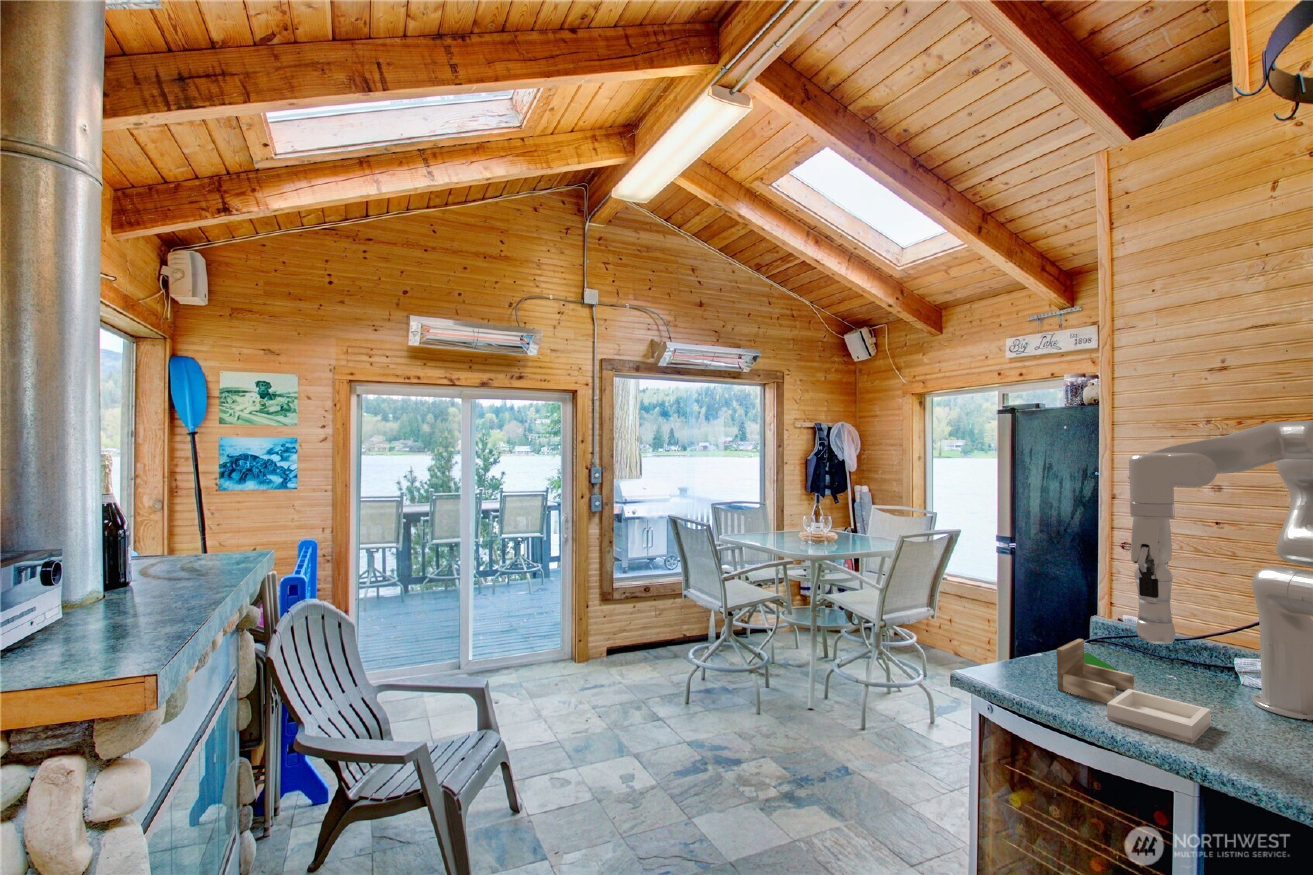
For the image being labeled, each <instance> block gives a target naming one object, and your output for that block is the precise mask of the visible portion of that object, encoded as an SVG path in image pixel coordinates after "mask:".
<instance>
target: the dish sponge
mask: <svg viewBox="0 0 1313 875" xmlns="http://www.w3.org/2000/svg"><path fill="white" fill-rule="evenodd" d="M1084 663H1085V664H1089V665H1094V666H1098V667H1102V668H1107V669H1111V670H1115V671H1119V669H1117V668H1116V667H1114V666H1112V665H1111V664H1108V663H1107V662H1105V661H1103V660H1102V659H1100V658H1098V657H1097V656H1094V655H1093V654H1092V653H1089V652H1084Z"/></svg>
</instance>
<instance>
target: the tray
mask: <svg viewBox="0 0 1313 875" xmlns="http://www.w3.org/2000/svg"><path fill="white" fill-rule="evenodd" d="M1106 708H1107V710H1106V713H1107V714H1106V716H1107V719H1106V720H1108V721H1112V722H1115V723H1118V724H1123V725H1125V726H1127V727H1128V726H1129V727H1133V728H1136V729H1139V730H1143V731H1146V732H1150V733H1153V734H1157V735H1161V736H1163V737H1167V738H1170V739H1175V740H1176V741H1177V740H1178V741H1182V742H1184V743H1188V744H1192V745H1193V744H1194V743H1195V742H1197V741H1198V739H1199V738H1200V737H1201V736H1202V735H1203V734H1204V733H1205V732H1206V731H1207V730H1209V728H1210V727H1211V725H1212V722H1211V721H1212V720H1211V708H1208V707H1204V706H1200V705H1195V704H1192V703H1187V702H1184V701H1180V700H1175V699H1171V698H1167V697H1163V696H1159V695H1155V694H1150V693H1147V692H1142V691H1139V690H1135V689H1134V690H1131V689H1128V690H1126V691H1124V692H1122V693H1120V694H1119V695H1116V698H1114V699H1113V700H1111V701H1110V702H1108V703H1106Z"/></svg>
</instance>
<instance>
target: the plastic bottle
mask: <svg viewBox="0 0 1313 875" xmlns="http://www.w3.org/2000/svg"><path fill="white" fill-rule="evenodd" d="M1147 563H1152V564H1154V563H1153V562H1151V561H1147ZM1138 568H1139V566H1138V565H1137V566H1136V568H1135V570H1134V574H1133V575H1134V578H1135V579H1134V580H1135V585H1136V589H1137V596H1138V612H1137V613H1138V614H1137V615H1138V616H1137V620H1136V625H1135V626H1136V627H1135V630H1136V633H1137V634H1136V635H1137V636H1138V638H1139V639H1140V640H1141V641H1144V642H1148V643H1150V644H1154V645H1171V644H1172V643H1173V642H1174V641H1175V638H1176V629H1175V625H1174V622H1173V616H1172V609H1171V593H1172V587H1173V586H1172V585H1173V579H1174V578H1173V574H1172V572H1171V570H1170V568H1169V566H1168V567H1167V566H1166V565H1165V564H1161V565H1158V566H1157V573H1156V579H1158V591H1159V597H1158V598H1152V597H1145V596H1140V594H1139V570H1138ZM1150 569H1151V571H1152V567H1150Z"/></svg>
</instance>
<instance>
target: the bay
mask: <svg viewBox="0 0 1313 875" xmlns="http://www.w3.org/2000/svg"><path fill="white" fill-rule="evenodd" d="M1084 653H1085V640H1084V639H1083V638H1077V639H1075V640H1073V641H1070V642H1068V643H1066V644H1064V645H1062V646H1059V647H1058V648H1056V668H1057V670H1056V673H1057V674H1056V675H1057V677H1056V678H1057V680H1056V681H1057V691H1059V690H1060V691H1061V692H1063V691H1066V692H1065V693H1067V692H1068V693H1067V694H1070V693H1071V695H1075V696H1078V695H1080V696H1079V697H1082V696H1083V697H1082V698H1085V699H1086V698H1087V699H1090V700H1093V701H1097V702H1100V703H1104V704H1107V703H1108V702H1110V701H1111V700H1113V699H1114V698H1116V697H1117V690H1121V691H1124V692H1125V691H1126V690H1128V689H1131V690H1135V674H1131V673H1128V672H1124V671H1119V670H1118V671H1115V670H1111V669H1107V668H1102V667H1098V666H1094V665H1089V664H1085V663H1084Z"/></svg>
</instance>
